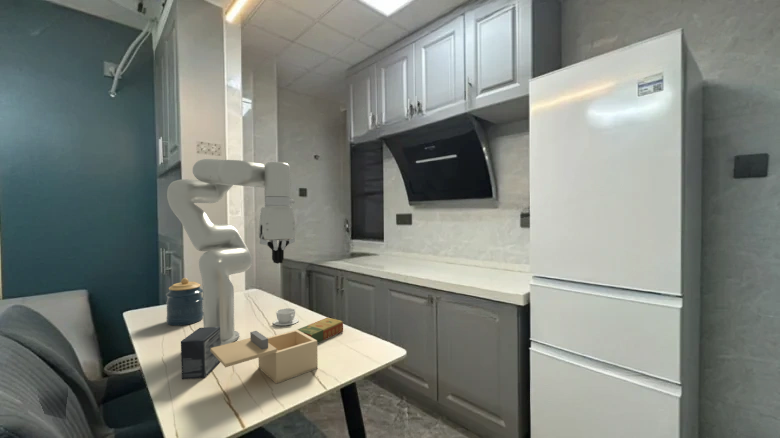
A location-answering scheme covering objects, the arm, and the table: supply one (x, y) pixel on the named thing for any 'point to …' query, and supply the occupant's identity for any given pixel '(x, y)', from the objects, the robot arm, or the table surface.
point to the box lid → (243, 350)
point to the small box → (199, 352)
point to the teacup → (285, 317)
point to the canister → (184, 303)
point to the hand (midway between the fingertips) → (277, 262)
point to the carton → (323, 329)
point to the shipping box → (290, 356)
